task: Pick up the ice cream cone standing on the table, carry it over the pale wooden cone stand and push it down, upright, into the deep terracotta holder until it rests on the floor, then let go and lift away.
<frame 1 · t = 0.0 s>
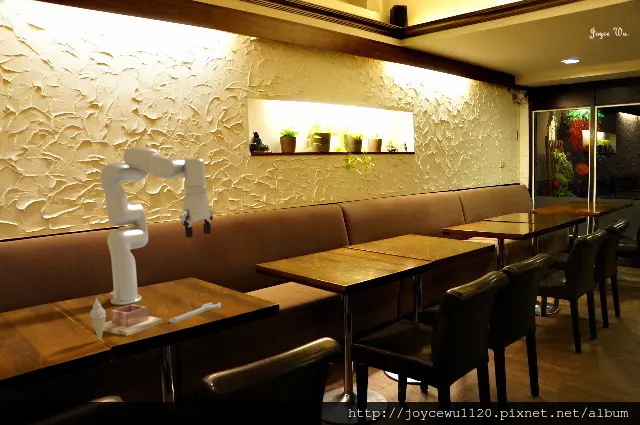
hand: (198, 235, 195), 31 cm above the table, tool pointing down, fingers open, 9 cm apart
cone stand: (130, 325, 188), on the table
adjustable wrench: (194, 314, 201), on the table
ice cream cone: (100, 340, 173), on the table
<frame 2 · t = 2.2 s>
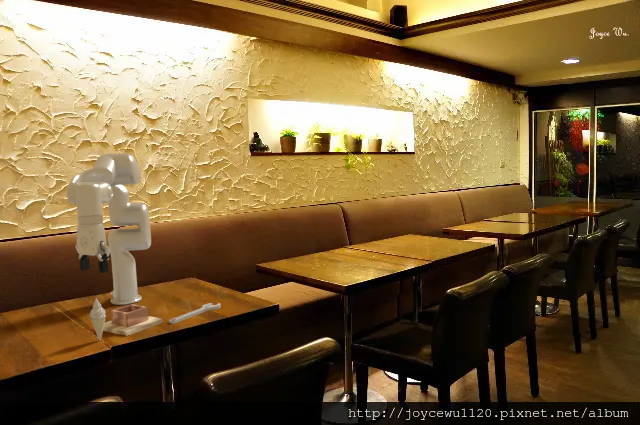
hand: (94, 271, 171), 24 cm above the table, tool pointing down, fingers open, 9 cm apart
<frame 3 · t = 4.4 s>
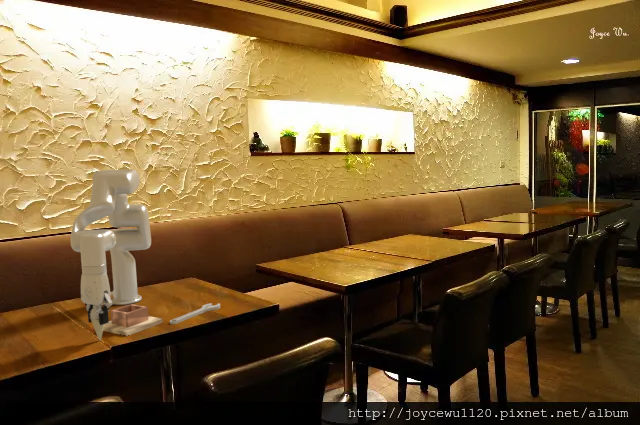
hand: (98, 322, 173), 6 cm above the table, tool pointing down, fingers closed on ice cream cone, 5 cm apart
ice cream cone: (100, 340, 173), on the table, touching gripper
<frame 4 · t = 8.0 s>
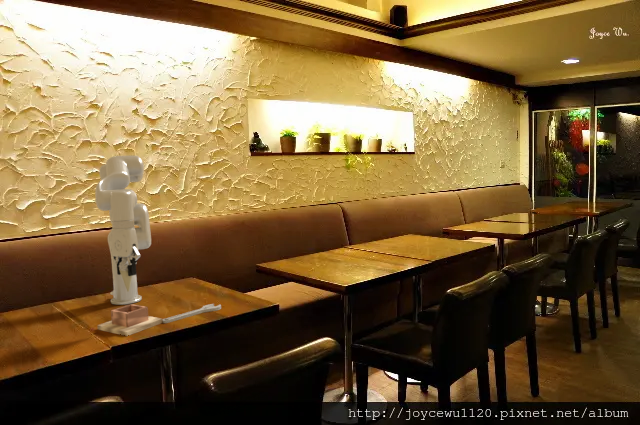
hand: (126, 274, 185), 20 cm above the table, tool pointing down, fingers closed on ice cream cone, 5 cm apart
adjustable wrench: (192, 315, 200), on the table
ice cream cone: (128, 291, 186), point 13 cm above the table, touching gripper
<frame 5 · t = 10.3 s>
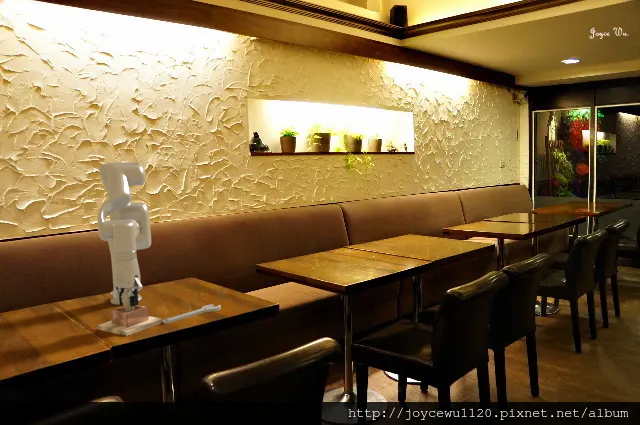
hand: (129, 304, 187), 8 cm above the table, tool pointing down, fingers closed on ice cream cone, 5 cm apart
ice cream cone: (130, 321, 187), point 2 cm above the table, touching gripper
when the fingers open (8 cm above the table, at t = 11.8 s): ice cream cone stays where it is, resting on cone stand.
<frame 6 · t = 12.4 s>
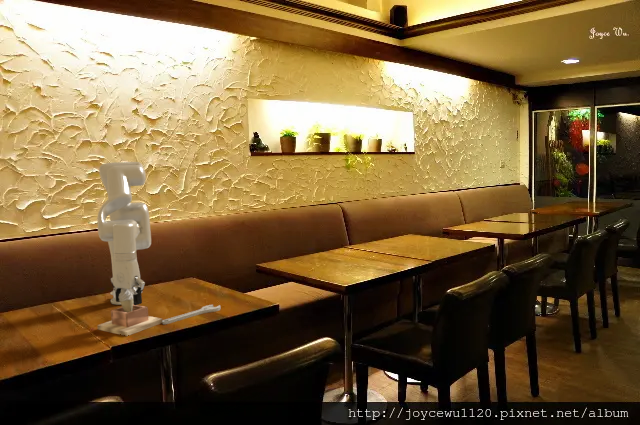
hand: (128, 302, 187), 9 cm above the table, tool pointing down, fingers open, 9 cm apart
ice cream cone: (130, 322, 188), point 1 cm above the table, touching cone stand, gripper
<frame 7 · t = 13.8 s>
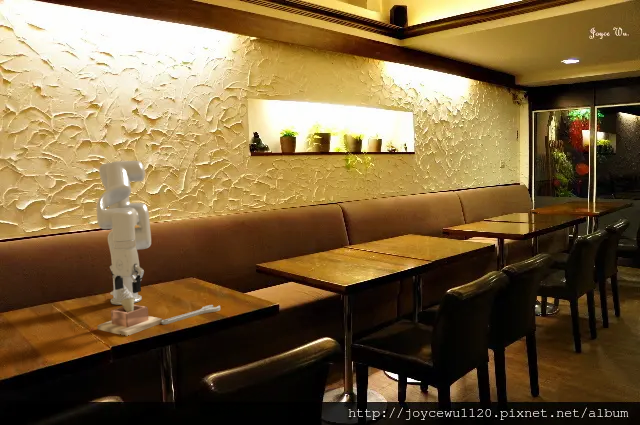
hand: (128, 290, 187), 13 cm above the table, tool pointing down, fingers open, 9 cm apart
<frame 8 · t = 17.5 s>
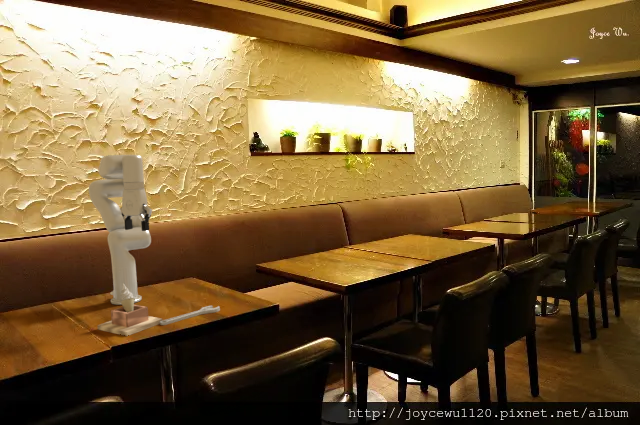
hand: (137, 229, 201), 33 cm above the table, tool pointing down, fingers open, 9 cm apart
ice cream cone: (132, 321, 188), point 1 cm above the table, touching cone stand
at the end: ice cream cone 0.6 cm off-centre on the cone stand, point 1.4 cm above the cone stand's base; ice cream cone tilted 26°; the gripper is holding nothing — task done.
